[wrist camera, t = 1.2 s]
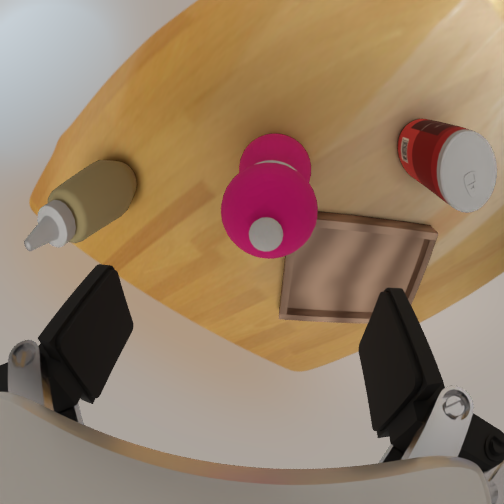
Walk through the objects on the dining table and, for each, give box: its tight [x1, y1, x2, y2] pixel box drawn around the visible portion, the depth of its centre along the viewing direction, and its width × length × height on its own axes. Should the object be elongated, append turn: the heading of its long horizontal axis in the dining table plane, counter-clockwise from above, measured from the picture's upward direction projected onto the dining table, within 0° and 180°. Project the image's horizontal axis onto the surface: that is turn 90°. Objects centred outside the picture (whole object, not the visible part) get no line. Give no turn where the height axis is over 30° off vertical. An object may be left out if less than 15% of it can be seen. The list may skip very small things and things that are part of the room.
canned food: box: [398, 119, 497, 213], centre depth 23 cm, size 8×8×11 cm
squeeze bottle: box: [24, 160, 137, 251], centre depth 26 cm, size 8×8×18 cm
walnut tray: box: [279, 212, 438, 323], centre depth 36 cm, size 20×16×2 cm
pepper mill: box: [221, 134, 318, 259], centre depth 22 cm, size 7×7×20 cm
